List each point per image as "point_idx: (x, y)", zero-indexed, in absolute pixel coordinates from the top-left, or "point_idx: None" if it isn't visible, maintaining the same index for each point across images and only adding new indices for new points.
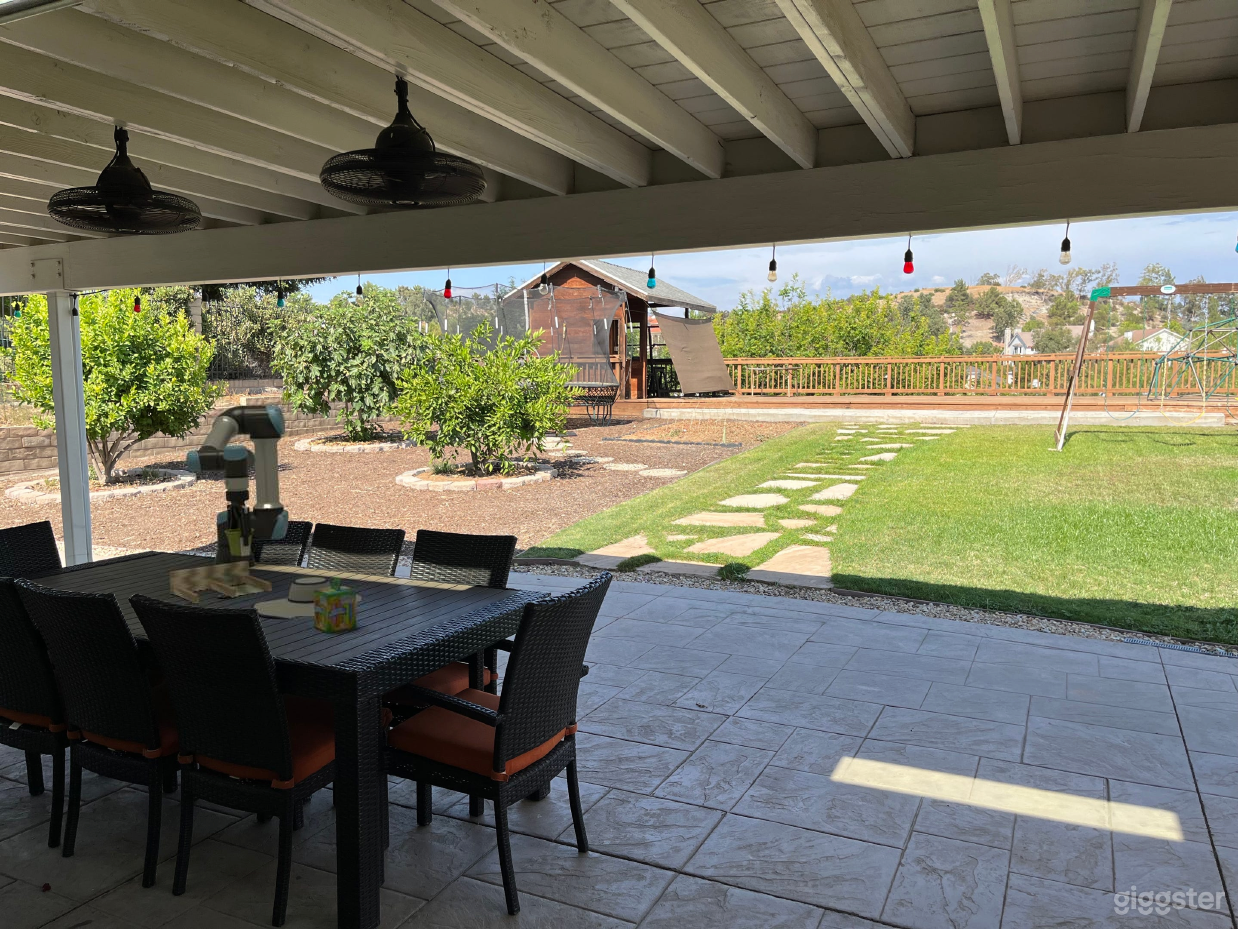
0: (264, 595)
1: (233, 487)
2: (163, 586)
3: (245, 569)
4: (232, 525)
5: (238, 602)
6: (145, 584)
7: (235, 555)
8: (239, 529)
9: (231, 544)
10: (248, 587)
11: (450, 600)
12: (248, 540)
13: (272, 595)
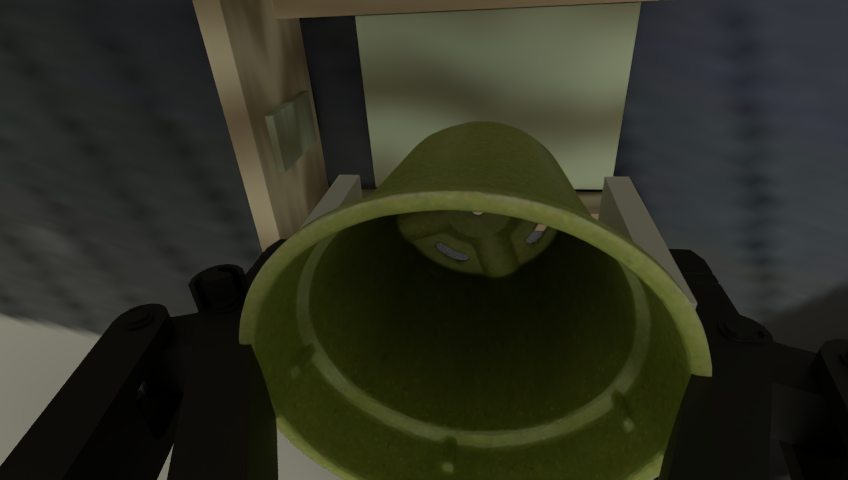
0: (742, 56)
1: None
2: (158, 301)
3: (255, 13)
4: (273, 465)
5: (756, 228)
6: (88, 325)
7: (523, 264)
8: (269, 314)
9: (503, 356)
10: (455, 51)
11: None
12: (727, 298)
13: (798, 15)
